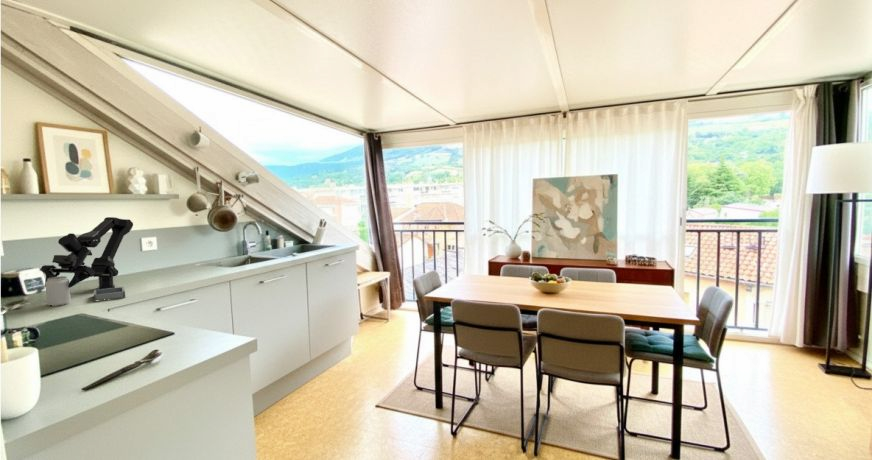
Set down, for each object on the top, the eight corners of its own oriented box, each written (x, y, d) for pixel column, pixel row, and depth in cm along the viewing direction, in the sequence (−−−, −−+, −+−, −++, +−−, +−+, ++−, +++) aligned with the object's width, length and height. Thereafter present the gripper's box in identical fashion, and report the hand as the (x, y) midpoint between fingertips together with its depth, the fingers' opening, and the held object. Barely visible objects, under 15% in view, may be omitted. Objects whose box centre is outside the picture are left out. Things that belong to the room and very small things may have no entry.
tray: (94, 296, 181) (93, 290, 181) (124, 292, 188) (123, 286, 188) (94, 301, 173) (93, 295, 172) (125, 297, 180) (124, 291, 180)
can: (55, 307, 163) (53, 280, 162) (42, 305, 165) (40, 278, 164) (75, 302, 171) (73, 276, 169) (62, 301, 172) (60, 275, 171)
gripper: (42, 247, 169) (20, 277, 160) (88, 247, 172) (69, 277, 162) (58, 261, 178) (38, 290, 168) (102, 262, 180) (85, 290, 170)
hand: (57, 287), depth 167 cm, fingers open, 9 cm apart
